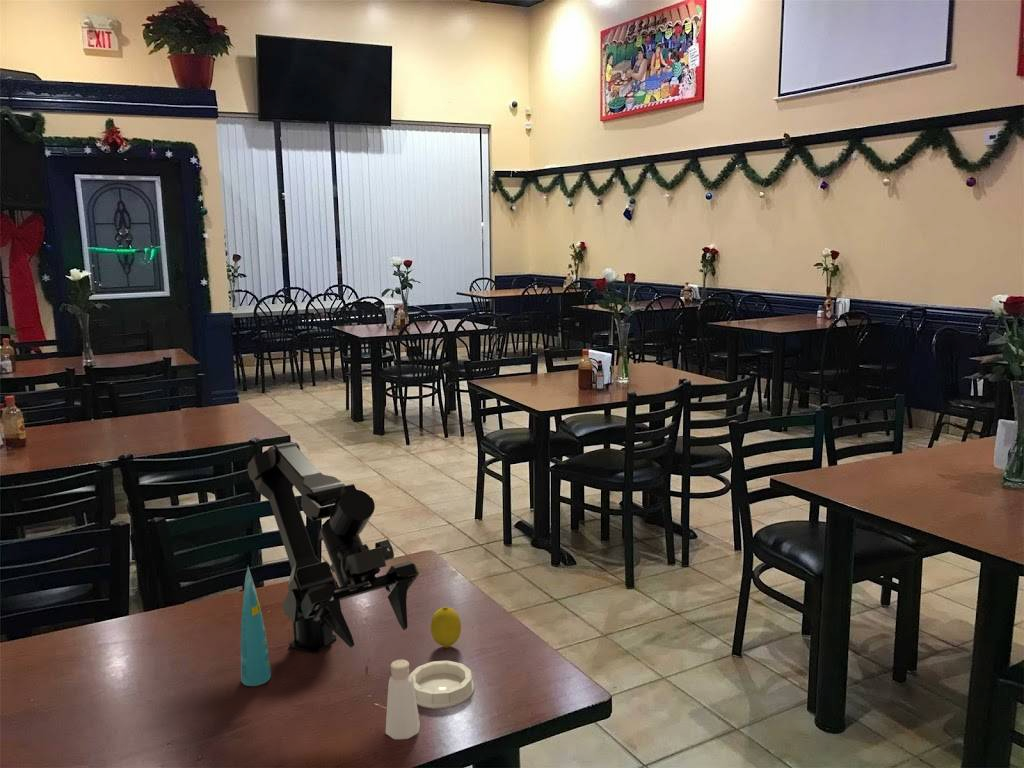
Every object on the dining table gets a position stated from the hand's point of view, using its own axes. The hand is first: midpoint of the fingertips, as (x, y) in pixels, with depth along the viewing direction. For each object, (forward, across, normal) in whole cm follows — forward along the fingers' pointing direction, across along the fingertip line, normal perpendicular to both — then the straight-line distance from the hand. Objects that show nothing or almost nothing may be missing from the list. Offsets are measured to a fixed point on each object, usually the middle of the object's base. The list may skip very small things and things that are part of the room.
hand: (379, 637), depth 127 cm
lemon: (+1, +19, +17) cm, 25 cm away
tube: (-7, -13, +24) cm, 28 cm away
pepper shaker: (+14, 0, +4) cm, 14 cm away
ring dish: (+9, +10, +9) cm, 16 cm away
